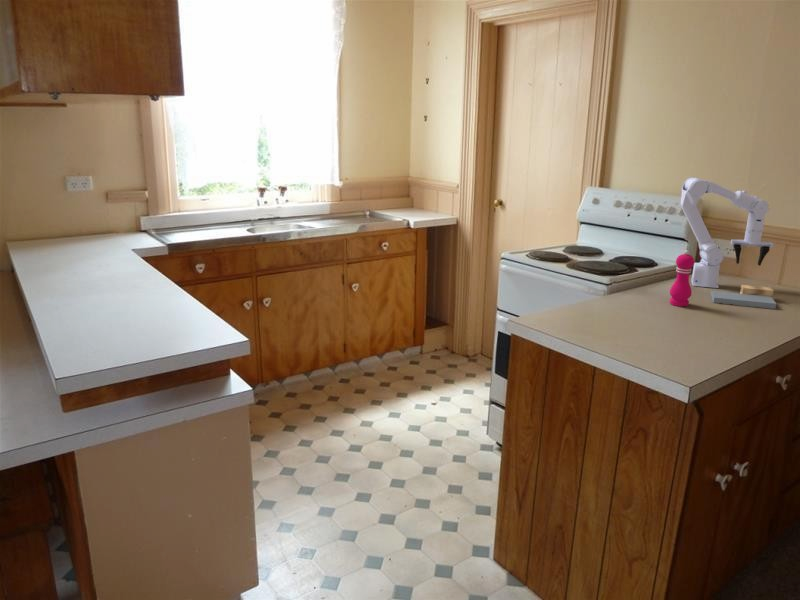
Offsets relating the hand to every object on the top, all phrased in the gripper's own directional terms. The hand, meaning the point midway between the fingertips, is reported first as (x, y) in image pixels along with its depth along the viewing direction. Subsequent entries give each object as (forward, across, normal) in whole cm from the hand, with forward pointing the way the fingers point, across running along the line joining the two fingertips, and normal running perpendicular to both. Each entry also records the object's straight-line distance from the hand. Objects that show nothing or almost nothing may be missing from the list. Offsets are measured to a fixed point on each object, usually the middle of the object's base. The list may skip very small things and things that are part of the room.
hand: (748, 264), depth 250 cm
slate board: (+9, -4, -25) cm, 27 cm away
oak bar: (+10, +2, -17) cm, 20 cm away
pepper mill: (+10, -26, -37) cm, 46 cm away
